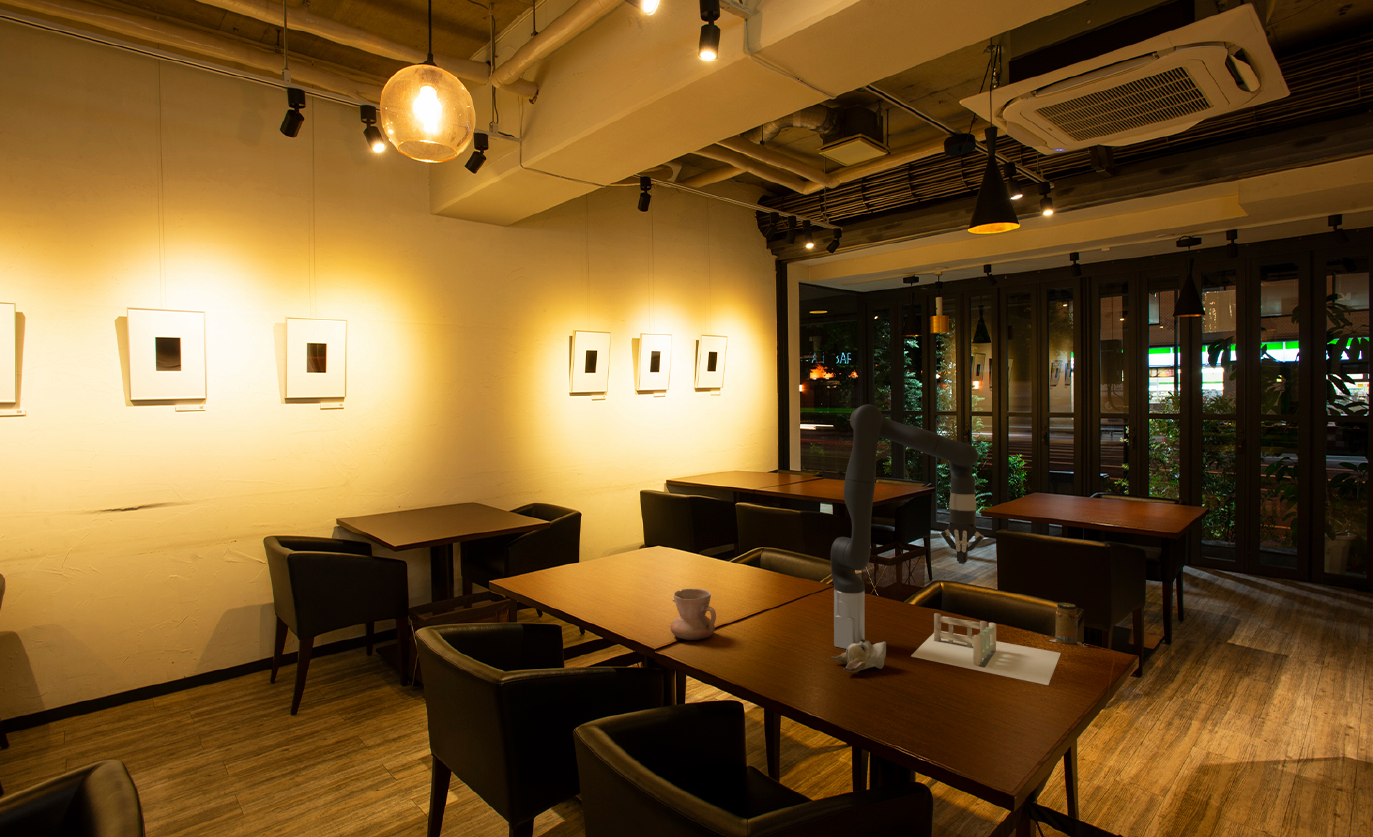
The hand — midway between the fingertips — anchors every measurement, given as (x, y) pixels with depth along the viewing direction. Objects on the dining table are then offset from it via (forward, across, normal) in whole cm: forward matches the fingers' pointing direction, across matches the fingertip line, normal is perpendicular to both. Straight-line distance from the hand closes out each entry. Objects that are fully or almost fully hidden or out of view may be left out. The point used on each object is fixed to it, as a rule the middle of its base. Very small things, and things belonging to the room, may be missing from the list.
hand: (961, 563), depth 206 cm
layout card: (+26, -8, +5) cm, 27 cm away
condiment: (+25, -26, -22) cm, 42 cm away
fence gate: (+25, -9, +8) cm, 28 cm away
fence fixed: (+25, 0, +2) cm, 25 cm away
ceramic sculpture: (+26, +17, +36) cm, 48 cm away
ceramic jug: (+27, +71, +44) cm, 88 cm away
